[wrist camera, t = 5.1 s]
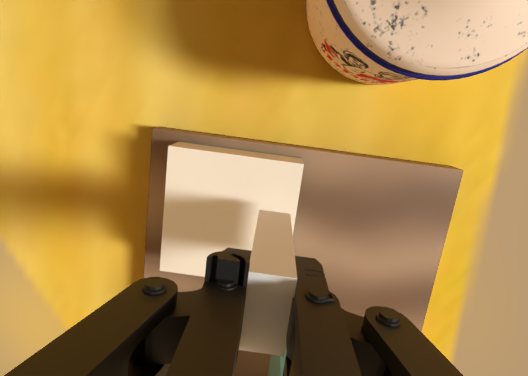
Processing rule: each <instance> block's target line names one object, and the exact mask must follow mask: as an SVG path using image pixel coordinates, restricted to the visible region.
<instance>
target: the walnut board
mask: <svg viewBox="0 0 528 376" xmlns="http://www.w3.org/2000/svg"><path fill="white" fill-rule="evenodd" d="M180 141H185V142H193V143H200V144H207V145H215V146H222V147H230V148H237V149H244V150H252V151H259V152H266V153H274V154H281V155H289V156H296V157H301V158H302V161H303V163H304V167H303V174H302V180H301V186H300V193H299V199H298V205H297V212H296V218H295V224H294V231H293V244H294V253H295V256H301V257H308V258H315V259H316V260H317V261H318V262H320V263H321V264H322V267H323V270H324V274H325V278H326V281H327V285H328V289H329V291H330V292H332V293H333V294H334V295H336V297H337V298H338V300H339V302H340V306H341V308H342V309H344V310H345V311H348V312H350V313H353V314H356V315H359V316H362V317H364V315H365V311H366V309H368V308H369V307H373V306H381V307H389V308H392V309H394V310H396V311H397V312H399V313H401V314H403V315H404V316H405V317H407V318H408V319H409V320H410V321H411V322H412V323H413V324H414V325H415V326H416V327H417V328H418V329H419V330H420V331H421V330H422V327H423V323H424V319H425V315H426V311H427V308H428V304H429V300H430V296H431V292H432V288H433V285H434V281H435V277H436V273H437V269H438V266H439V262H440V258H441V254H442V250H443V247H444V243H445V239H446V235H447V231H448V228H449V224H450V220H451V216H452V212H453V208H454V205H455V201H456V197H457V193H458V189H459V186H460V182H461V178H462V174H463V170H461V169H458V168H455V167H452V166H447V165H440V164H432V163H425V162H417V161H410V160H403V159H395V158H388V157H381V156H373V155H366V154H358V153H351V152H344V151H336V150H329V149H321V148H314V147H307V146H299V145H292V144H284V143H277V142H270V141H262V140H255V139H247V138H240V137H233V136H225V135H218V134H211V133H203V132H196V131H188V130H181V129H174V128H166V127H157V128H152V144H151V161H150V178H149V195H148V212H147V229H146V246H145V263H144V278H149V277H162V278H167V279H170V280H172V281H174V282H175V283H176V284H177V287H178V292H187V291H194V290H198V289H201V288H202V286H203V284H204V280H205V277H202V276H194V275H187V274H180V273H173V272H166V271H160V257H161V243H162V228H163V214H164V200H165V185H166V171H167V156H168V146H169V145H172V144H174V143H177V142H180ZM270 357H271V354H264V353H257V352H250V351H243V350H238V358H237V365H236V371H235V376H268V370H269V364H270Z"/></svg>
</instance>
